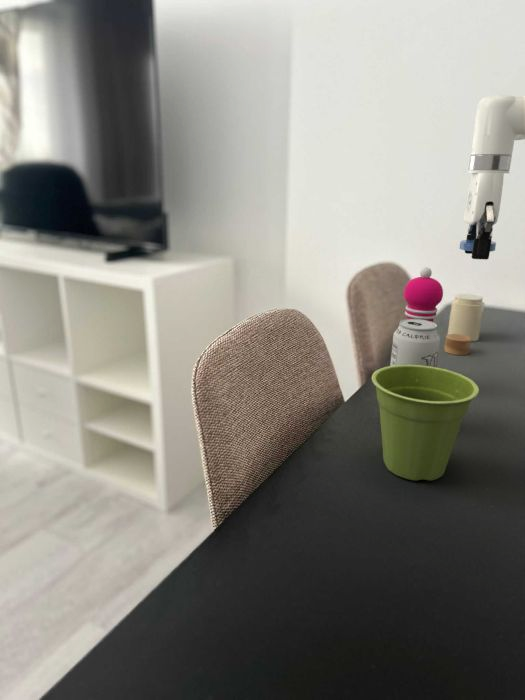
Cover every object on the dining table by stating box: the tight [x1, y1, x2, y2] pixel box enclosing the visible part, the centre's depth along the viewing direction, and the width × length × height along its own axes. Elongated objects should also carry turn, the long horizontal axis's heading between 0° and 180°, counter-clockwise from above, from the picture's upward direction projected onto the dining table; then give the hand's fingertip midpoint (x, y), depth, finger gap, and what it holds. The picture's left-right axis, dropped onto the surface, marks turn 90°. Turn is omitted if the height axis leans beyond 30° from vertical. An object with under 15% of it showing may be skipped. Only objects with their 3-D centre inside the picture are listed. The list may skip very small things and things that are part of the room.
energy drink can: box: [389, 318, 441, 368], centre depth 71 cm, size 6×6×15 cm
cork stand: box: [443, 334, 472, 356], centre depth 104 cm, size 5×5×3 cm
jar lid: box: [459, 239, 497, 253], centre depth 106 cm, size 7×7×2 cm
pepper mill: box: [403, 266, 444, 368], centre depth 84 cm, size 7×7×20 cm
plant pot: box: [371, 365, 480, 482], centre depth 61 cm, size 12×12×11 cm
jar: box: [446, 293, 485, 342], centre depth 112 cm, size 7×7×9 cm
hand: (476, 255), depth 107 cm, fingers closed on jar lid, 6 cm apart
